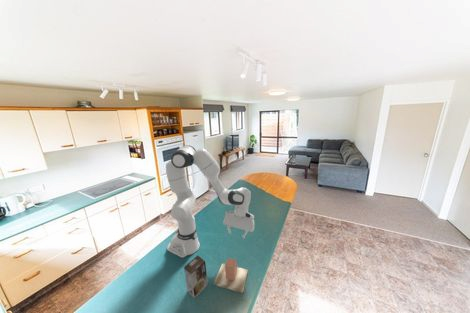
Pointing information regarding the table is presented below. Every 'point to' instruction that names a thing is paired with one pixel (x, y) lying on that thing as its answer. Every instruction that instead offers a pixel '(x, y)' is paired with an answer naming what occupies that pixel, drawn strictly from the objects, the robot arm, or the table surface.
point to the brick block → (231, 269)
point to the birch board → (230, 284)
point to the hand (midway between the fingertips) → (236, 235)
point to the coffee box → (196, 276)
